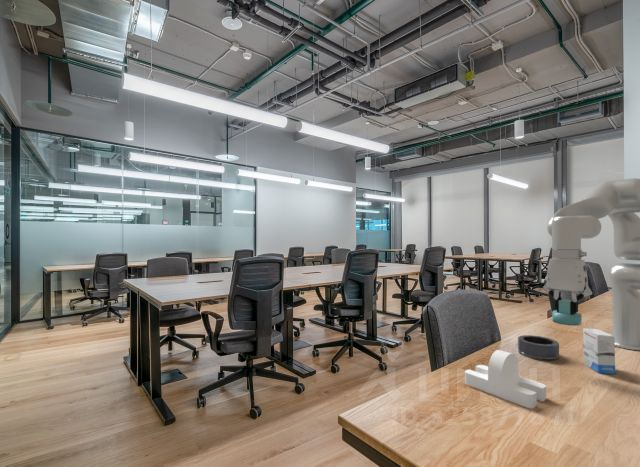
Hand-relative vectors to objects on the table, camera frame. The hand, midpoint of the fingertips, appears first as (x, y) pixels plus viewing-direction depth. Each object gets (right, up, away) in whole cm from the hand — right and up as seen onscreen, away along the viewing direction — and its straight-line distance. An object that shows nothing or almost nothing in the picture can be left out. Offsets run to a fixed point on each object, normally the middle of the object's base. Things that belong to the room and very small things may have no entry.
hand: (566, 312), depth 109 cm
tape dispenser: (-28, -18, -15) cm, 37 cm away
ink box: (+11, -18, 0) cm, 21 cm away
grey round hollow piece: (-1, -18, +13) cm, 22 cm away
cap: (0, -3, 0) cm, 3 cm away
